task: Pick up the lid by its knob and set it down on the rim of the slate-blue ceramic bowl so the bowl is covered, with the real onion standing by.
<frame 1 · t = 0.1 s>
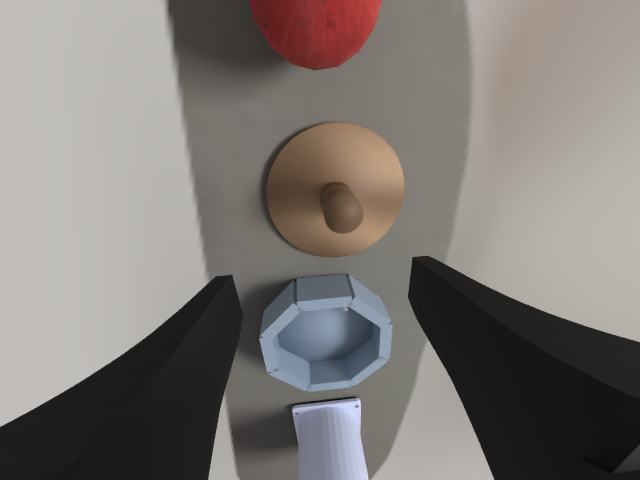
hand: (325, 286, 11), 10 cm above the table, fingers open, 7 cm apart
lid: (334, 194, 20), on the table
bowl: (324, 323, 25), on the table
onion: (310, 16, 15), on the table
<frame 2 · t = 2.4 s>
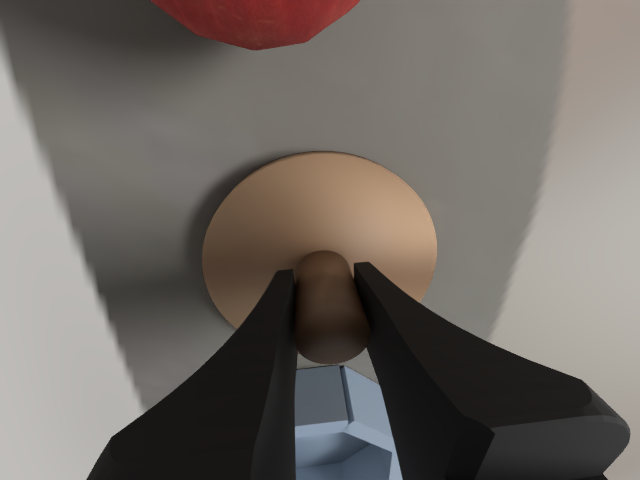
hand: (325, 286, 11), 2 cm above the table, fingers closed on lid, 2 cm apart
lid: (321, 264, 12), on the table, touching gripper
bowl: (310, 422, 18), on the table
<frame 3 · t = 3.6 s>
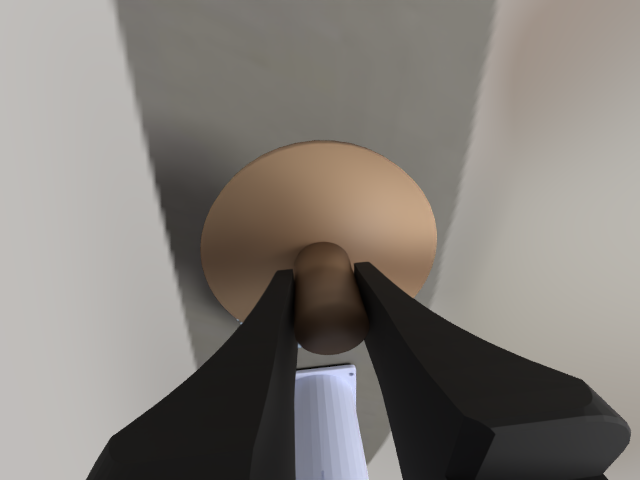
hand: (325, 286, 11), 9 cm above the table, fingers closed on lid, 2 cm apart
lid: (320, 255, 12), point 7 cm above the table, touching gripper
when the fingers open (6 cm above the table, at t = 5.1 s): lid stays where it is, resting on bowl.
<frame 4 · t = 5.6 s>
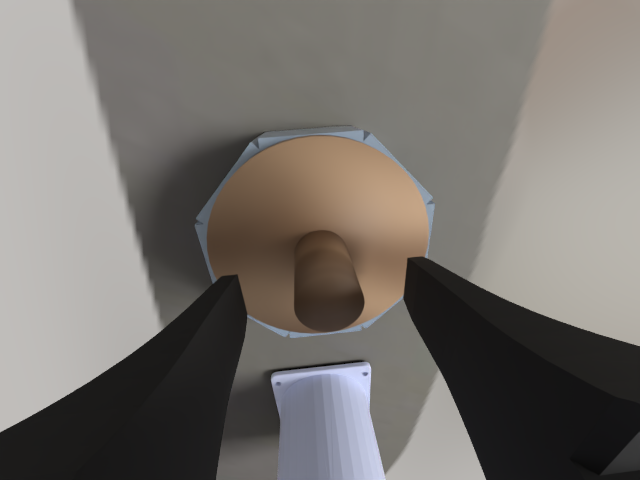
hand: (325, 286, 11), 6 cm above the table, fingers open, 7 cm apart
lid: (319, 245, 13), point 3 cm above the table, touching bowl
bowl: (315, 228, 16), on the table
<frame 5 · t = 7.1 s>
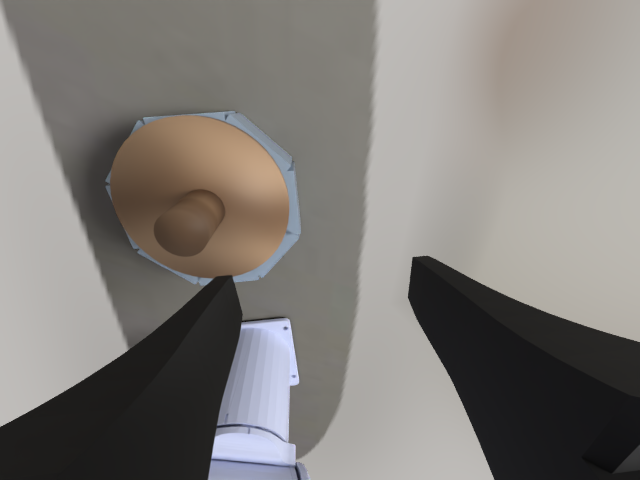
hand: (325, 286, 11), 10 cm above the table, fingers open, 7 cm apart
lid: (208, 204, 16), point 3 cm above the table, touching bowl
bowl: (222, 196, 19), on the table
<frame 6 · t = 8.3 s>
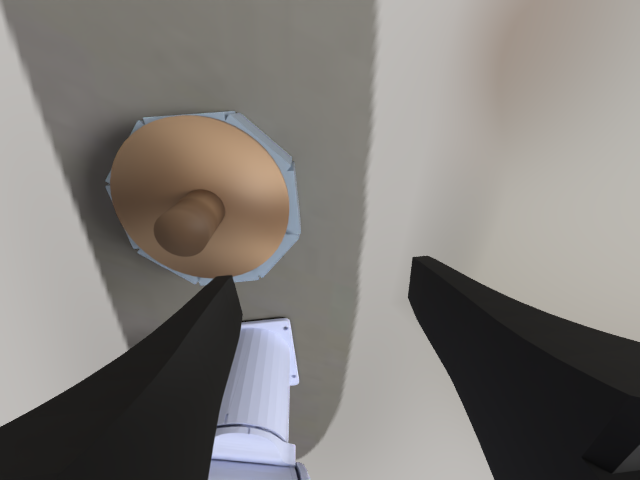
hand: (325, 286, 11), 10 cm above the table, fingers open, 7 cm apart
lid: (208, 204, 16), point 3 cm above the table, touching bowl
bowl: (222, 196, 19), on the table
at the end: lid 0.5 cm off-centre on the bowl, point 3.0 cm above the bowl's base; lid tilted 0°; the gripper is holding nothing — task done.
